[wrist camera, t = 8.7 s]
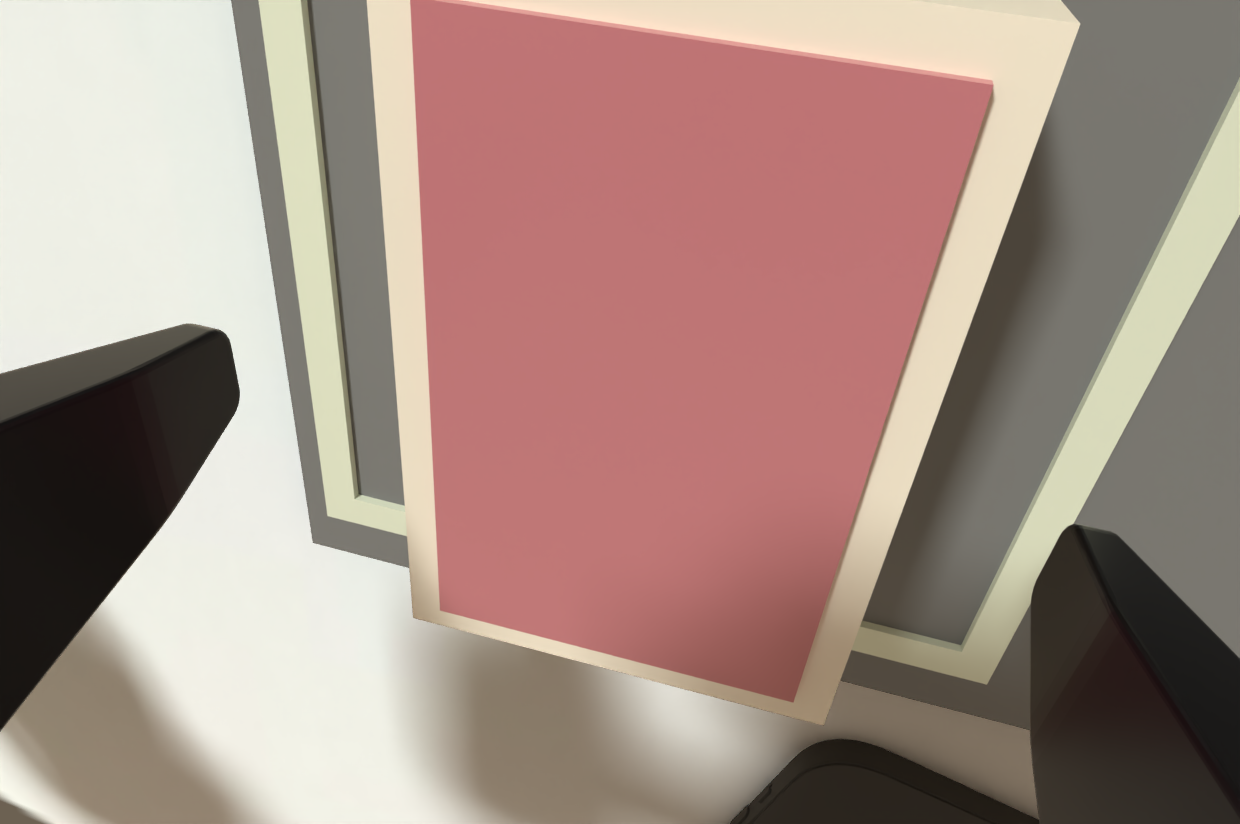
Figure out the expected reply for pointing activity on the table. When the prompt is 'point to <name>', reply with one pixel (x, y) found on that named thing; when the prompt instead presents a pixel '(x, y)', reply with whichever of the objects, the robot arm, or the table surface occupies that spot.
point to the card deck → (687, 308)
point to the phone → (869, 792)
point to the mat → (982, 378)
